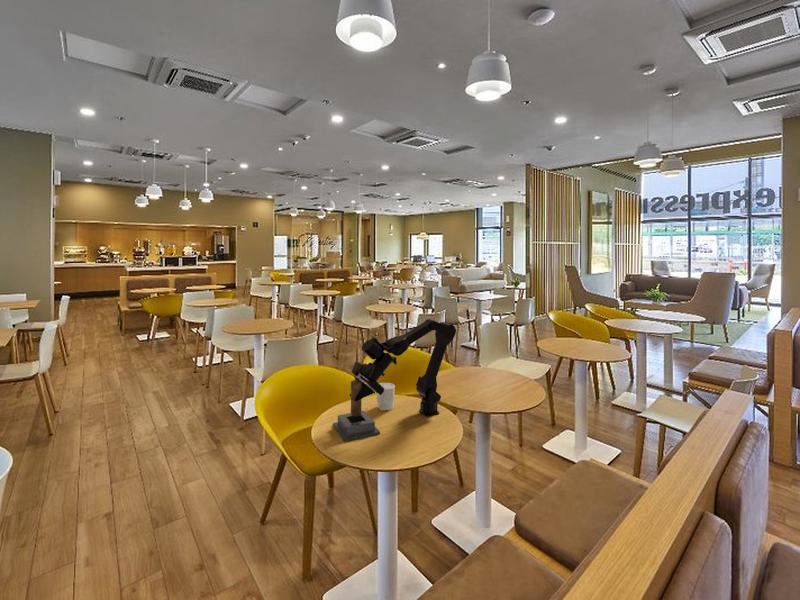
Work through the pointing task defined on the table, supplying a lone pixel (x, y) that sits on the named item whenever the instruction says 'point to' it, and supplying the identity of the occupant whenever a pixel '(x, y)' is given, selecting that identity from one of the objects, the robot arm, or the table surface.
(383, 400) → the white cup
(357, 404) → the peg
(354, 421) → the socket
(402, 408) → the table surface
